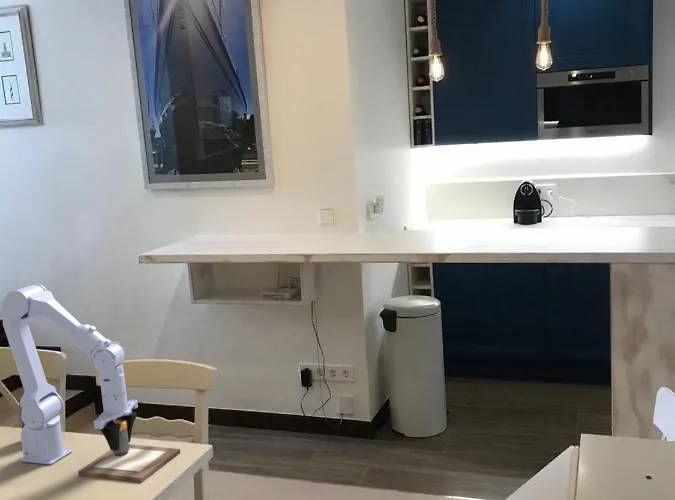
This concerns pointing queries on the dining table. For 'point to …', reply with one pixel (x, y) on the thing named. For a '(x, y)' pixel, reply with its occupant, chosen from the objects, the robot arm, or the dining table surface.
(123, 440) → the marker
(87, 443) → the dining table surface
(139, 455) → the board
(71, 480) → the dining table surface
